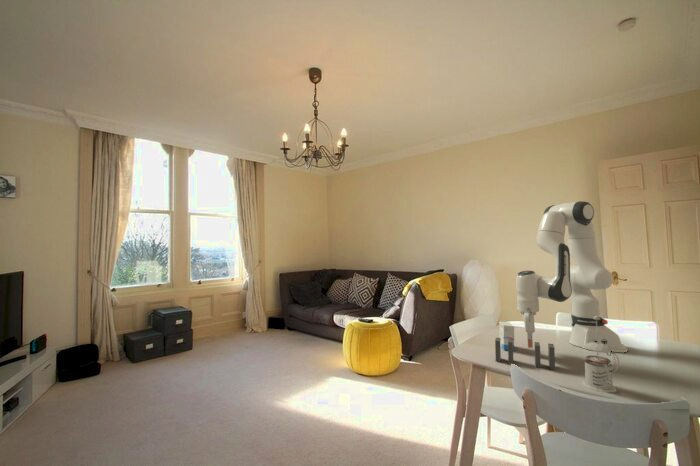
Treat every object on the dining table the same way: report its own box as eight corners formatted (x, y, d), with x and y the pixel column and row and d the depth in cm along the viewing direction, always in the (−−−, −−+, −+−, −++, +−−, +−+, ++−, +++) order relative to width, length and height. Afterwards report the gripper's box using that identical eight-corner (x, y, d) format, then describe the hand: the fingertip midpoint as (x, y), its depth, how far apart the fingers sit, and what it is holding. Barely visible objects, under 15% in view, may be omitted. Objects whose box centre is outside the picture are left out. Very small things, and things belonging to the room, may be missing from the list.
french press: (575, 380, 120) (573, 312, 120) (607, 380, 119) (605, 312, 120) (594, 392, 110) (592, 319, 110) (629, 392, 110) (627, 319, 110)
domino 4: (539, 363, 136) (539, 342, 136) (540, 368, 131) (540, 345, 132) (534, 363, 137) (534, 341, 137) (535, 367, 132) (535, 345, 132)
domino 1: (500, 358, 143) (500, 338, 143) (500, 362, 138) (499, 341, 138) (496, 357, 144) (495, 337, 144) (495, 361, 139) (495, 340, 139)
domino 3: (532, 344, 149) (531, 325, 149) (532, 348, 144) (531, 327, 145) (527, 344, 150) (526, 324, 150) (528, 347, 145) (527, 327, 145)
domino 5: (553, 365, 134) (553, 344, 134) (555, 370, 129) (554, 347, 129) (548, 365, 134) (548, 343, 135) (549, 369, 130) (549, 347, 130)
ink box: (515, 351, 152) (514, 325, 152) (503, 350, 153) (503, 325, 153) (509, 345, 160) (509, 321, 160) (499, 344, 161) (498, 320, 161)
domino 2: (513, 360, 140) (512, 339, 141) (513, 364, 136) (512, 342, 136) (508, 359, 141) (508, 338, 141) (508, 363, 137) (508, 342, 137)
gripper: (537, 312, 137) (539, 344, 136) (534, 302, 155) (536, 331, 155) (520, 311, 140) (522, 343, 139) (519, 301, 158) (521, 330, 158)
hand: (529, 336), depth 147 cm, fingers closed on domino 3, 5 cm apart
